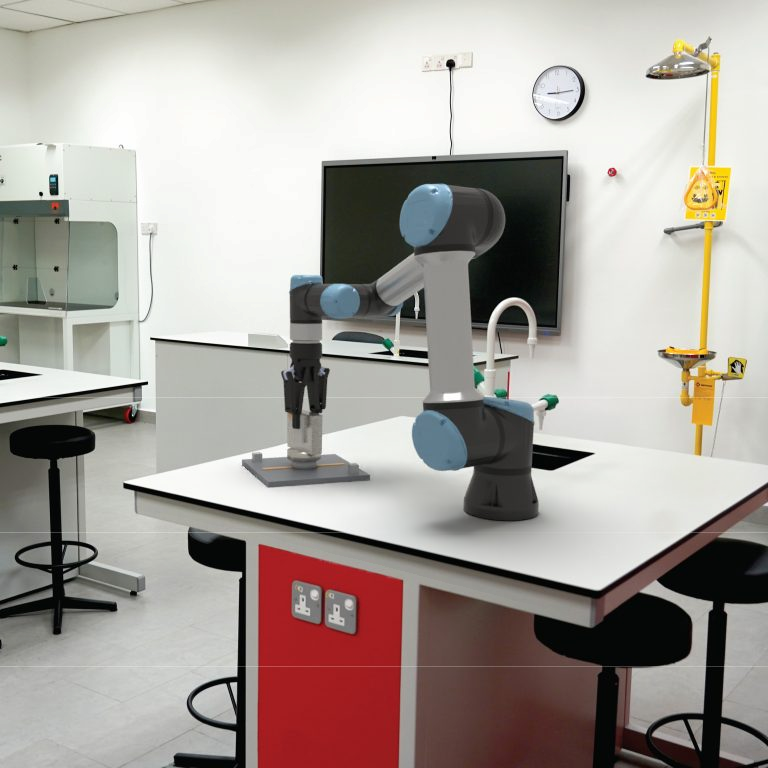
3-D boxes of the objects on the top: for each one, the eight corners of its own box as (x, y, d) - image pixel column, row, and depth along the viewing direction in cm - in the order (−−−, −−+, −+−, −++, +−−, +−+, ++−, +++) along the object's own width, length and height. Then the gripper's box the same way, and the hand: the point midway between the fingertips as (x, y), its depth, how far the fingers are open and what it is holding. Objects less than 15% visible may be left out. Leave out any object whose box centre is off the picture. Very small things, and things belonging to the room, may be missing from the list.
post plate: (369, 479, 207) (370, 466, 207) (268, 487, 198) (268, 473, 198) (335, 458, 229) (335, 446, 229) (242, 464, 220) (242, 451, 220)
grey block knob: (331, 460, 211) (331, 414, 210) (301, 464, 207) (302, 416, 205) (306, 452, 220) (307, 407, 219) (277, 455, 215) (278, 410, 214)
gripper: (320, 339, 218) (320, 435, 221) (268, 342, 206) (268, 443, 209) (342, 341, 213) (341, 439, 216) (289, 344, 201) (289, 447, 204)
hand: (305, 441), depth 212 cm, fingers closed on grey block knob, 3 cm apart
